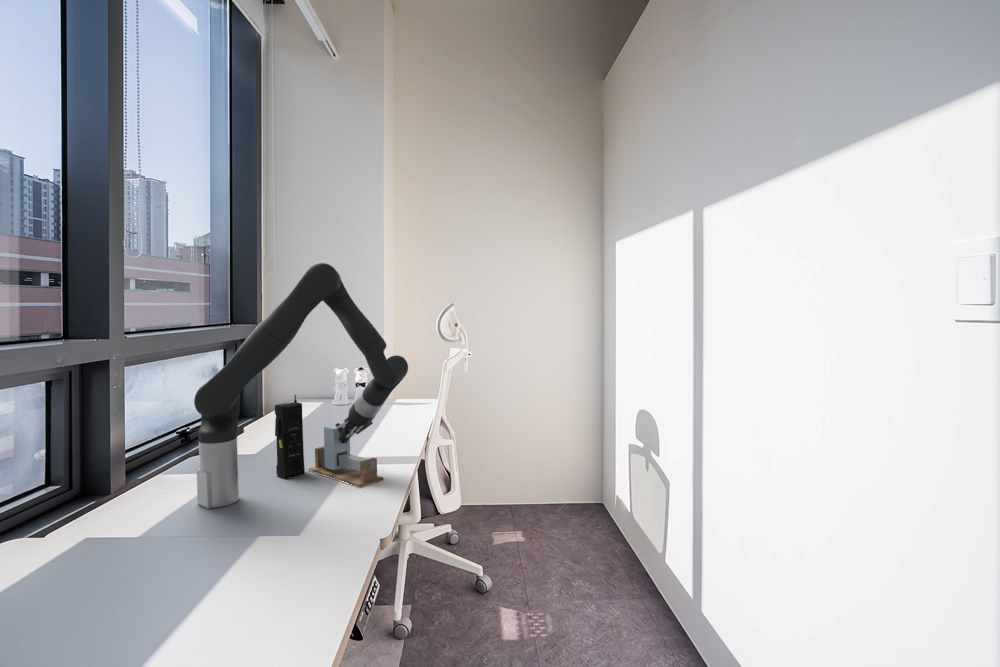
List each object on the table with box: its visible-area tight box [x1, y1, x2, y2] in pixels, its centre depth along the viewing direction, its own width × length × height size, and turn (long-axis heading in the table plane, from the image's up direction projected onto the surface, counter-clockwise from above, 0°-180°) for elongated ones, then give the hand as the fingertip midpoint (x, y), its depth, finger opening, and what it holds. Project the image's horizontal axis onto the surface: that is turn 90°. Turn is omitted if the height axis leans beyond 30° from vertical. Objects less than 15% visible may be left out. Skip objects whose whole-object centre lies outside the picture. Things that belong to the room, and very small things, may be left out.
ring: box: [320, 446, 325, 467], centre depth 175 cm, size 2×6×6 cm, turn 142°
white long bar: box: [320, 450, 374, 473], centre depth 170 cm, size 25×3×3 cm, turn 52°
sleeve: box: [323, 423, 351, 470], centre depth 172 cm, size 5×6×13 cm
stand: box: [308, 445, 384, 488], centre depth 170 cm, size 26×9×7 cm, turn 52°
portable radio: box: [274, 394, 306, 480], centre depth 169 cm, size 8×6×25 cm
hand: (342, 441), depth 170 cm, fingers closed
